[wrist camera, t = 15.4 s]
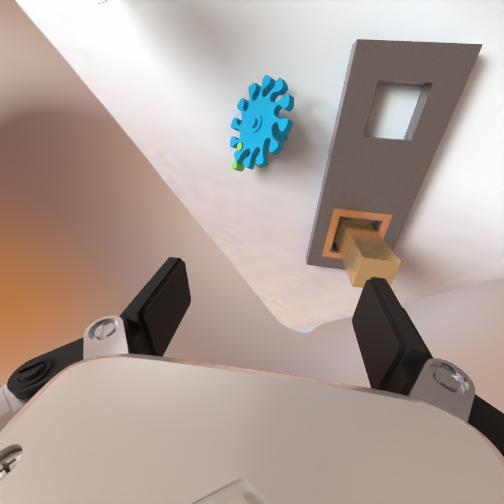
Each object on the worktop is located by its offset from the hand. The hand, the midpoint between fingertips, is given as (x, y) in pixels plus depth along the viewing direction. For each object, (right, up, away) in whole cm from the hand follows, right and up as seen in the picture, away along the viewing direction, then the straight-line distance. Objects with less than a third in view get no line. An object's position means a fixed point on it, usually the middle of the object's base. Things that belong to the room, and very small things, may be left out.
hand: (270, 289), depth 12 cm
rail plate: (+15, +12, +20) cm, 28 cm away
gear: (0, +19, +19) cm, 27 cm away
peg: (+15, +5, +24) cm, 29 cm away
